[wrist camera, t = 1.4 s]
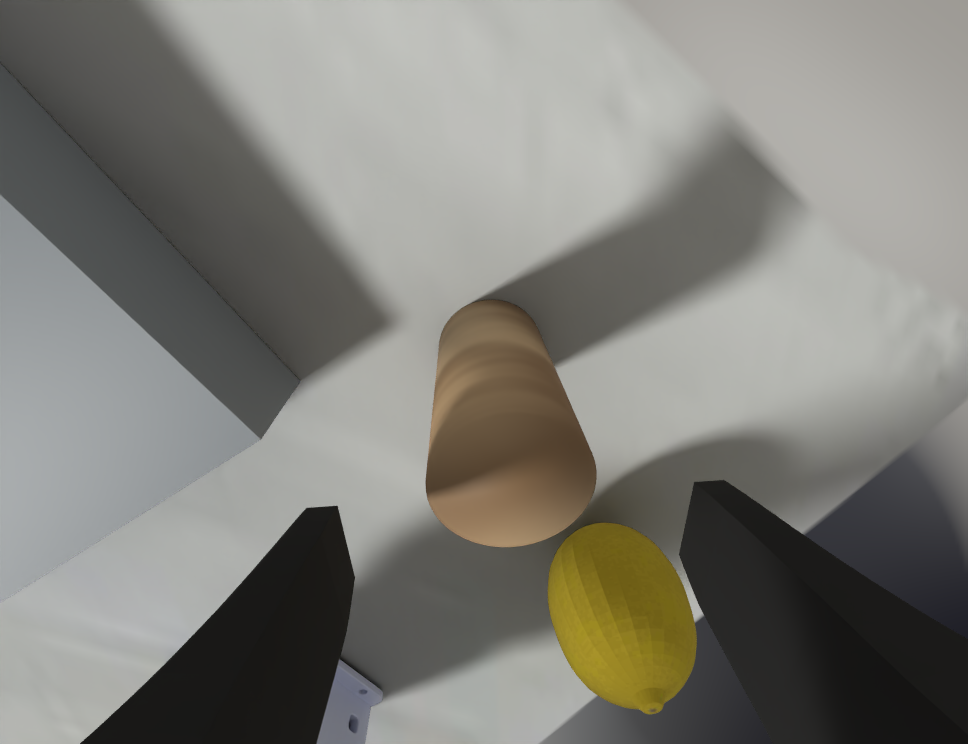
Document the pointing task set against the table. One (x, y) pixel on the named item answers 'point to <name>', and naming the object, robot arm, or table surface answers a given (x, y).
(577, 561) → the lemon
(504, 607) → the table surface
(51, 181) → the socket block
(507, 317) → the peg
